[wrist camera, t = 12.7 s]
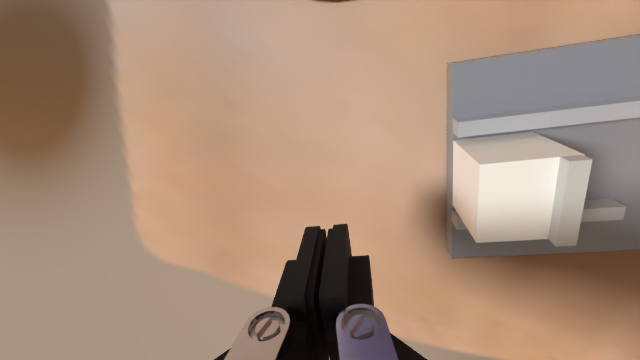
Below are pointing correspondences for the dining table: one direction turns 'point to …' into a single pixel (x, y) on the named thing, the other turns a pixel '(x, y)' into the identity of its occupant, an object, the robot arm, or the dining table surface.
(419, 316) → the dining table surface
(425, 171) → the dining table surface
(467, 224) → the cream square block
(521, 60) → the base
